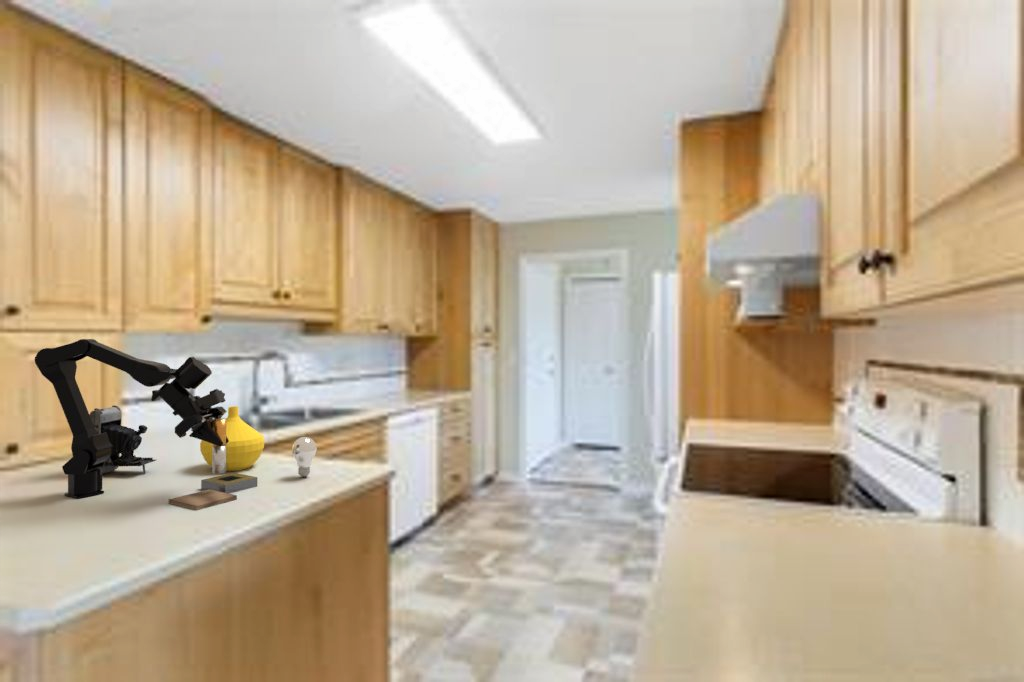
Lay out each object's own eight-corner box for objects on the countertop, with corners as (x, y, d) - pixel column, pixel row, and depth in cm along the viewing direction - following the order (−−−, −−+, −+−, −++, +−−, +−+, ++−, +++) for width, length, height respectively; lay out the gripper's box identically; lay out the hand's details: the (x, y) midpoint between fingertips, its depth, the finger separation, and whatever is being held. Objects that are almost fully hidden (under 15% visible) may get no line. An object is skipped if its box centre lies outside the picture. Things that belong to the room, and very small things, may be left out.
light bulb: (320, 474, 182) (320, 435, 182) (310, 480, 175) (310, 439, 175) (298, 474, 183) (298, 434, 182) (287, 479, 176) (287, 438, 175)
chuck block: (225, 494, 159) (225, 484, 159) (201, 489, 164) (201, 479, 164) (257, 486, 168) (257, 477, 168) (233, 481, 173) (233, 472, 172)
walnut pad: (196, 510, 145) (196, 505, 145) (168, 503, 150) (168, 499, 150) (236, 499, 155) (236, 495, 155) (209, 493, 160) (209, 489, 160)
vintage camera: (137, 480, 174) (141, 411, 174) (84, 476, 174) (88, 408, 174) (157, 472, 184) (161, 407, 184) (107, 469, 184) (111, 404, 184)
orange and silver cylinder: (215, 474, 156) (216, 420, 156) (210, 472, 159) (210, 419, 158) (227, 472, 159) (228, 419, 159) (222, 470, 161) (223, 418, 161)
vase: (193, 475, 178) (194, 411, 178) (207, 462, 196) (207, 404, 195) (260, 473, 183) (260, 410, 183) (267, 460, 201) (268, 403, 200)
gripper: (188, 383, 149) (233, 428, 150) (219, 377, 167) (259, 417, 168) (154, 414, 148) (200, 459, 149) (189, 405, 167) (230, 445, 168)
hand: (224, 443), depth 159 cm, fingers closed on orange and silver cylinder, 3 cm apart
